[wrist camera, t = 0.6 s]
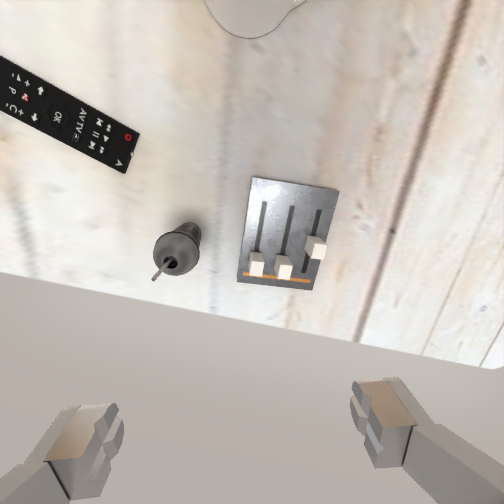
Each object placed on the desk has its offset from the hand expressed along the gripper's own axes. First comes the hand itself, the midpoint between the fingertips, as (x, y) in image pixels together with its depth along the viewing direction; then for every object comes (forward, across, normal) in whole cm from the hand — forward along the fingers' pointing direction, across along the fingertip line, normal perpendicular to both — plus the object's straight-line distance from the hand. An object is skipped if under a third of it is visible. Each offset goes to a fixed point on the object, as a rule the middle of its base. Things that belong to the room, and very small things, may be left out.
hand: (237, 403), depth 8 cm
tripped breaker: (+40, -15, +8) cm, 44 cm away
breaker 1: (+40, -3, +11) cm, 42 cm away
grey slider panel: (+43, -9, +7) cm, 44 cm away
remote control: (+43, +32, -19) cm, 57 cm away
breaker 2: (+40, -8, +12) cm, 43 cm away
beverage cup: (+43, +10, +5) cm, 44 cm away
